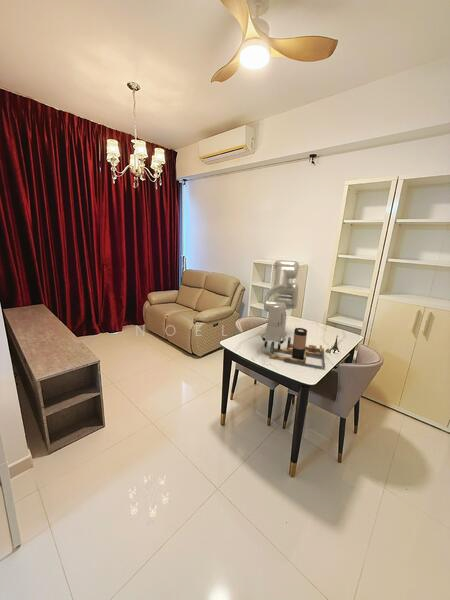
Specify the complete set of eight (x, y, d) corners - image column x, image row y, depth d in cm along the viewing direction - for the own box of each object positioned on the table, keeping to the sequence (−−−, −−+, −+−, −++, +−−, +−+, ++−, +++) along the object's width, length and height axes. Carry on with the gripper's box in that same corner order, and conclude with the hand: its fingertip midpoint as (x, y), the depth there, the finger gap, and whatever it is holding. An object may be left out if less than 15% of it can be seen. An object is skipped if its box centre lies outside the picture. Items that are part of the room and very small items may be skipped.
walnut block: (307, 354, 164) (308, 347, 162) (307, 351, 168) (308, 344, 167) (315, 355, 162) (316, 348, 161) (315, 352, 166) (316, 346, 165)
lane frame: (283, 362, 152) (284, 358, 151) (288, 345, 176) (288, 342, 175) (324, 369, 144) (324, 366, 144) (323, 351, 168) (323, 348, 167)
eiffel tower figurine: (328, 346, 179) (331, 329, 175) (343, 350, 173) (346, 332, 170) (323, 353, 166) (326, 335, 163) (339, 358, 161) (342, 339, 158)
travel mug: (289, 356, 160) (292, 327, 155) (300, 356, 160) (304, 327, 156) (294, 362, 152) (297, 332, 147) (305, 362, 153) (309, 332, 148)
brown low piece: (268, 358, 157) (269, 346, 155) (272, 350, 168) (272, 339, 166) (305, 365, 149) (306, 353, 147) (305, 356, 160) (307, 345, 158)
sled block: (286, 351, 166) (287, 340, 164) (287, 346, 174) (288, 336, 173) (321, 358, 159) (322, 346, 157) (321, 352, 167) (322, 341, 165)
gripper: (259, 323, 156) (257, 348, 160) (287, 327, 150) (284, 353, 154) (262, 319, 163) (260, 344, 167) (288, 323, 157) (286, 348, 161)
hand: (272, 348), depth 161 cm, fingers open, 7 cm apart
